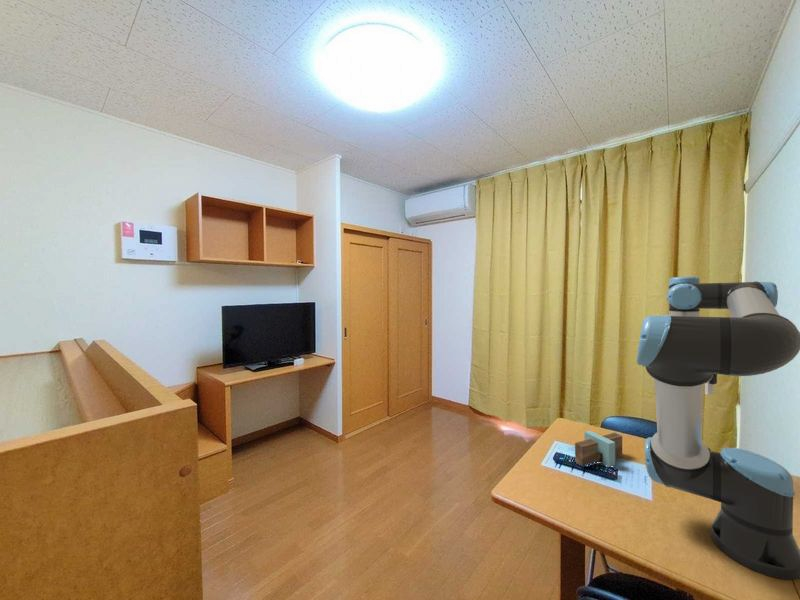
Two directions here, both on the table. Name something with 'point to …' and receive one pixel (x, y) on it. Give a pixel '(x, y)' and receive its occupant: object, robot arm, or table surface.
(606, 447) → the light blue piece
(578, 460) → the walnut fin
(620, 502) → the table surface
